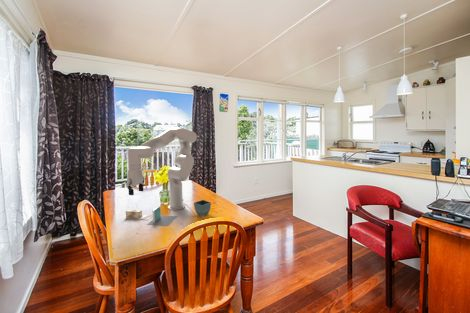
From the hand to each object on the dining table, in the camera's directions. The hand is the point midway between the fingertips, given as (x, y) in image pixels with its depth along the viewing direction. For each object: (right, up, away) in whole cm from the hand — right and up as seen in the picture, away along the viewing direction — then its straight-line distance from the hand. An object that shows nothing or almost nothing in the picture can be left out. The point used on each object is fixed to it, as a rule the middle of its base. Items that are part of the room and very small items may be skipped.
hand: (136, 193), depth 146 cm
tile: (+13, -18, +1) cm, 22 cm away
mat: (+17, -19, +1) cm, 25 cm away
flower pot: (+41, -18, +12) cm, 47 cm away
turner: (-1, -18, +6) cm, 19 cm away
